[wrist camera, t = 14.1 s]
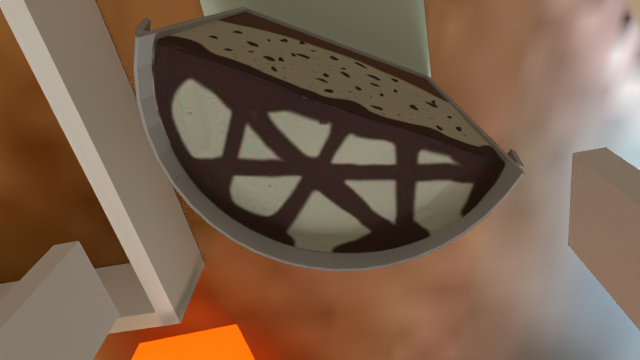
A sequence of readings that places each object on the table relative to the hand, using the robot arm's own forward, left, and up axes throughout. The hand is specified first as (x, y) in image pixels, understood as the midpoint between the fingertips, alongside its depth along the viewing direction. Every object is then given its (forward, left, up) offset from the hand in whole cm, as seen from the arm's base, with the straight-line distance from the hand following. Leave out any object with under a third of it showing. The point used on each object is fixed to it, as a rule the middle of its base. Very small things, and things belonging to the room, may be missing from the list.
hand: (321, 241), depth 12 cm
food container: (0, 0, -12) cm, 12 cm away
